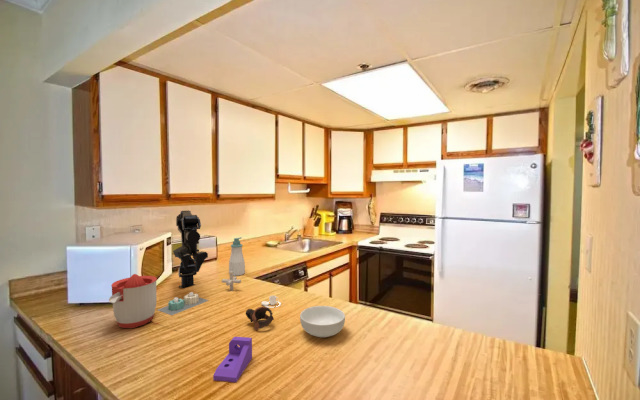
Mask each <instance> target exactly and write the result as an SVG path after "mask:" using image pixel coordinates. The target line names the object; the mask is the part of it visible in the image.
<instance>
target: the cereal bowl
mask: <svg viewBox="0 0 640 400" xmlns="http://www.w3.org/2000/svg"><path fill="white" fill-rule="evenodd" d="M299 321H300V325H301V327H302V329H303V330H304V331H305V333H308V335H311V336H314V337H317V338H328V337H333V336H335V335H337V334H338V333H340V331H342V330H343V327H344V326H345V322H346V315H345V312H344V311H342V310H341V309H339V308H337V307H334V306H331V305H330V306H329V305H315V306H310V307H307V308H304V310H303V309H302V311H301V312H300V314H299Z"/></svg>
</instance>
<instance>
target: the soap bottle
mask: <svg viewBox="0 0 640 400" xmlns="http://www.w3.org/2000/svg"><path fill="white" fill-rule="evenodd" d="M240 239H242V237H240V236H239V237H236V238H235V237H234V239H233V240H232V244H231V245H230V248H231V249H230V250H231V251H230V258H229V260H228V274H229V275H230V272H231V271H233V277H238V276H242V275H244V274H245V273H246V265H245V259H244V254H243V246H244V245H243V243H241V241H240Z"/></svg>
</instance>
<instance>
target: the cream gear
mask: <svg viewBox="0 0 640 400" xmlns="http://www.w3.org/2000/svg"><path fill="white" fill-rule="evenodd" d="M199 298H200V297H199V294H198V293H193V297H189V293H188V294H186V295H184V296H183V299H184V303H185V305H186V304H189V305H191V304H196V303H197V302H199Z"/></svg>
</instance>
